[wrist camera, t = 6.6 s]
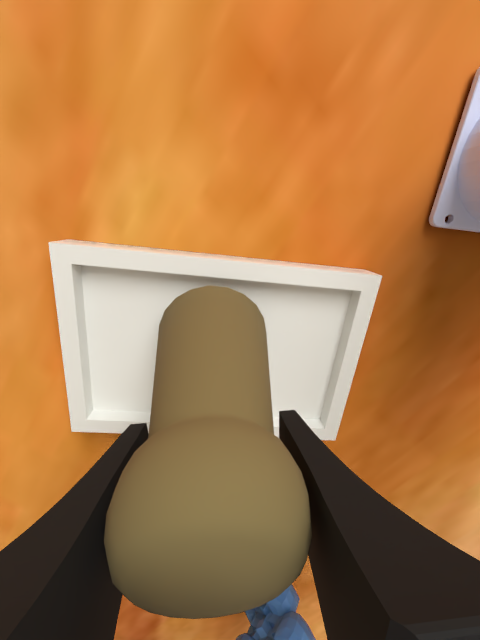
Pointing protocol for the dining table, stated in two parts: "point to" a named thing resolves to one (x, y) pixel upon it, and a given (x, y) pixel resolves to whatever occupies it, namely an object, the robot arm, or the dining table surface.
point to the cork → (209, 472)
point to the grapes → (278, 620)
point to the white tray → (172, 281)
